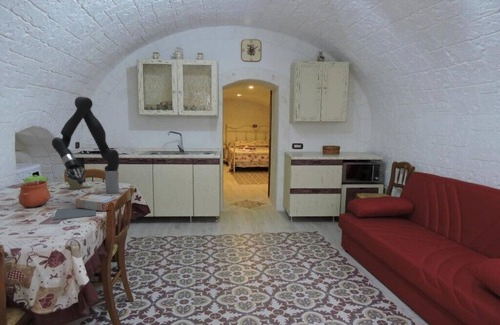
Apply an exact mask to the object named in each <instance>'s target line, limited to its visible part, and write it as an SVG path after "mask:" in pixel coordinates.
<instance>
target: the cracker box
mask: <svg viewBox="0 0 500 325" xmlns="http://www.w3.org/2000/svg"><path fill="white" fill-rule="evenodd" d="M117 200H118V201H119V197H118V196H117V197H116V196H108V195H100V194H95V193H94V194H92V193H91V194H90V193H89V194H86V195H83V196H80V197H77V198H76V199H75V207H78V208H85V209H92V210H96V211H100V212H107V211H108V210H107V205H108V203H110V202H115V201H117ZM106 210H107V211H106Z"/></svg>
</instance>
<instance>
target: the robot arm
mask: <svg viewBox="0 0 500 325" xmlns="http://www.w3.org/2000/svg"><path fill="white" fill-rule="evenodd" d="M93 104H94V103H93V100H92V99H91V98H89V97H87V96H77V97H76V98H75V100H74V106H75V107H76V110H75V112H74V113H73V115H72V116H71V117H70V118H68V120H67V121H66V122H65V123H64V125H63V127H62V129H61V130H60V134H61V136H62V138H61V137H57V136H56V137H54V138H53V139H52V141H51V145H52V148H53V149H54V150H55V152H57V154H58V155H59V157H60V158H61V160H62V163H63V165H64V167H65V169H67V171H68V172H67V173H66V175H65V177H66V176H67V177H69V178H71V179H73V180H77V182H78V183H79V184H83V185H84V181H83V179H82V178H83V177H84V174H86V172H87V170H86V169H85V170H82V169H81V168H82V167H81V166H80V164H79V163H78V160H77V159H76V157H75V156H74V153H73V152H72V151H71V149H69V147H70V145H71V139H72V137H73V134H74V133H75V131H76V129H77V127H78V126H79V124H81V121H82V120H84V123H85V125H86V127H87V129H88V131H89V133H90V134H91V136H92V138H93V140H94V143H95V145H96V146H97V149H98V151H99V153H100V156H101V158H102V159H103V160H104V161H105V162H107V165H106V166H104V182H105V194H111V195H112V194H118V193H119V192H120V186H119V182H120V181H119V171H118V170H119V166H120V164H119V163H120V156H119V152H118V150H116V149H113V148H112V149H110V147H109V146H108V143H107V140H106V139H107V138H106V135H107V133H106V131H105V129H104V127H103V125H102V123H101V122H100V120H99V119H98V118H97V117H96V116H95V115H94V113H93V112H92V107H93V106H94V105H93ZM81 173H82V176H81ZM84 178H85V177H84Z"/></svg>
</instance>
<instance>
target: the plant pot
mask: <svg viewBox="0 0 500 325" xmlns="http://www.w3.org/2000/svg"><path fill="white" fill-rule="evenodd" d="M80 168H81V169H82V170H86V168H85V167H80ZM63 171H64V175H65V178H66V181H67V183H68V186H69V188H70V189H71V190H81V189H82V187H83V185H84V183H83V184H79V183H78V182H77V180H73V179H71V178H69V177H67V176H66V173H67V172H68V171H67V169H66V168H64V170H63ZM85 174H86V173H85ZM85 174H84V177H83V178H82V179H83V182H84V181H85ZM81 176H82V173H81Z"/></svg>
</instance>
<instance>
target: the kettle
mask: <svg viewBox="0 0 500 325" xmlns="http://www.w3.org/2000/svg"><path fill="white" fill-rule="evenodd" d="M49 179H50V178H49V177H46V176H43V175H37V174H33V176H32V175H29V176H27V177H24V178H21V180H23V182H24V184H25V183H27V182H33V181H46V182H47V181H48V180H49Z"/></svg>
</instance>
